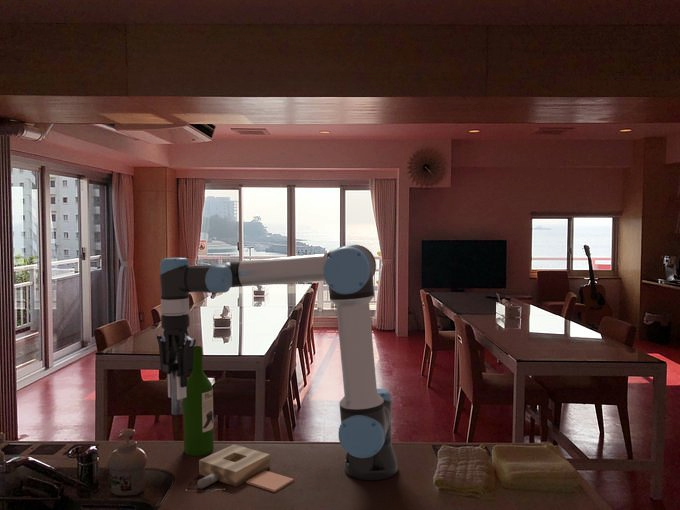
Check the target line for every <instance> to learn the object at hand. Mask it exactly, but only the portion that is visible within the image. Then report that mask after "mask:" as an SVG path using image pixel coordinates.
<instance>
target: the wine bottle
mask: <svg viewBox="0 0 680 510" xmlns="http://www.w3.org/2000/svg"><path fill="white" fill-rule="evenodd" d="M203 364H204V363H203V346H201V345H196V346H195V345H194V357H193V372H192V373H190V374H189V376H188V377H187V386H186V398H183V413H182V414H183V417H182V419H183V451H184V454H186V455H187V456H193V457H197V456H198V457H200V456H205V455H208V454H210V453H211V452H213V450H214V394H213V393H214V389H213V385H212V382H211V381H210V379H209V378H208V376H207V374H205V372H204V368H203V367H204V365H203Z"/></svg>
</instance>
